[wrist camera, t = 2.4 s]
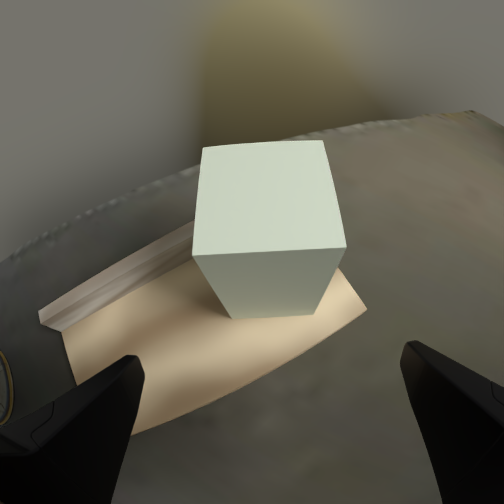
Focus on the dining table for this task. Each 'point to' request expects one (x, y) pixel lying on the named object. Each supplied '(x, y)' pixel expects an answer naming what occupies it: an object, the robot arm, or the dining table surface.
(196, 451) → the dining table surface
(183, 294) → the shelf
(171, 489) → the dining table surface
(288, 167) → the carton
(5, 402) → the apothecary jar
